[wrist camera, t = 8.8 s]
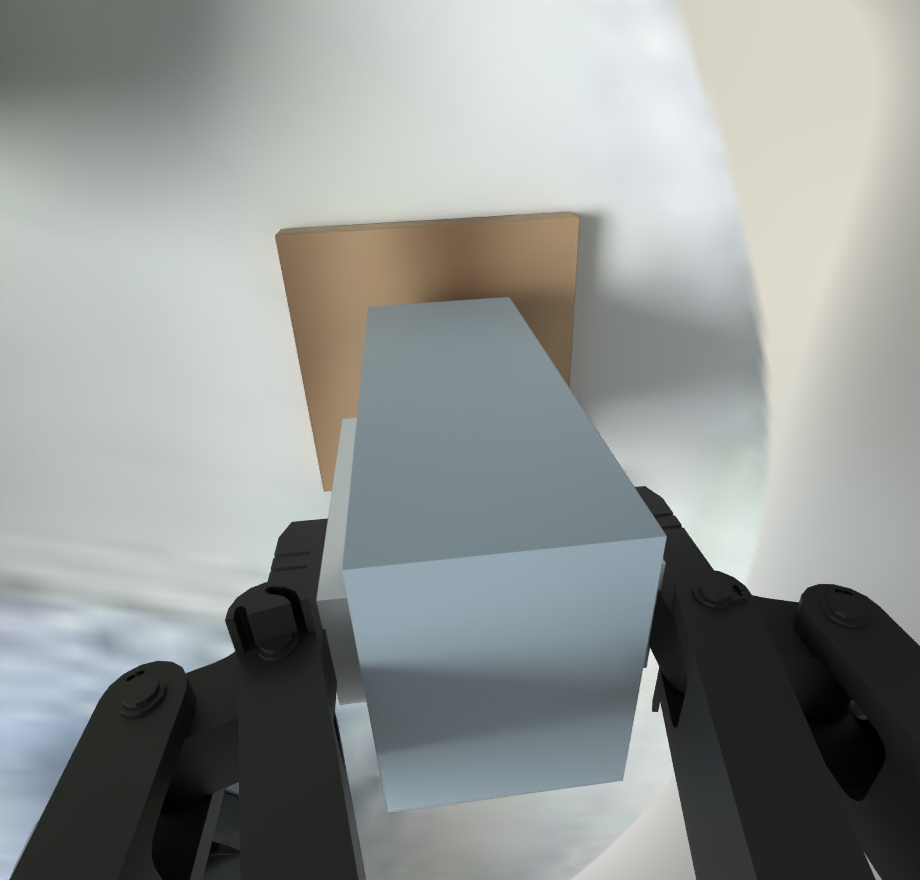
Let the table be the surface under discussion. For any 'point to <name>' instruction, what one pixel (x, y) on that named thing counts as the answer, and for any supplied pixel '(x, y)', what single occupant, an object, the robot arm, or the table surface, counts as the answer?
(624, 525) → the light blue tall block
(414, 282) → the walnut board
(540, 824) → the table surface
